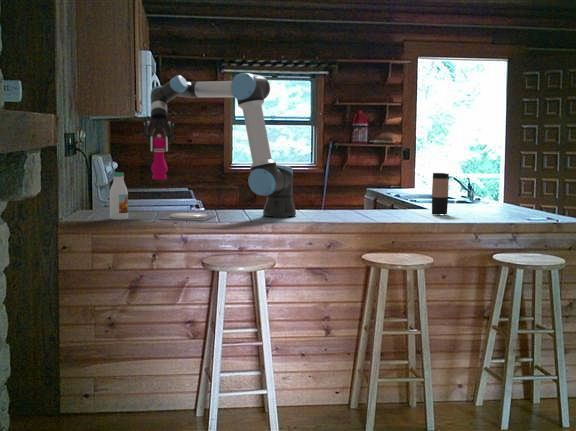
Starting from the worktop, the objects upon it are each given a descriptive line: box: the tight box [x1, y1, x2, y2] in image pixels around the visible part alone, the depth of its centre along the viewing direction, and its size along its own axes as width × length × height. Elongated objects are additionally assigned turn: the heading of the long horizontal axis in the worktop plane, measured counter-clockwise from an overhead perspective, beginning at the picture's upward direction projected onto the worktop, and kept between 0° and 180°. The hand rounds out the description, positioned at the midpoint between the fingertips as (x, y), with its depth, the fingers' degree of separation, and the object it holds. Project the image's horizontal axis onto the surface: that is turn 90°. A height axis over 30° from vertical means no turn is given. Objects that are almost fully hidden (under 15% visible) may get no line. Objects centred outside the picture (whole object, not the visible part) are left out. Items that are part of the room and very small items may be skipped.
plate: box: [169, 212, 208, 219], centre depth 317 cm, size 16×16×1 cm
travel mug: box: [431, 172, 450, 215], centre depth 346 cm, size 8×8×20 cm
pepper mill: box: [150, 133, 168, 180], centre depth 320 cm, size 7×7×20 cm
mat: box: [159, 214, 217, 222], centre depth 317 cm, size 20×20×1 cm
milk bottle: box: [109, 172, 129, 221], centre depth 308 cm, size 8×8×20 cm
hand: (159, 149), depth 317 cm, fingers closed on pepper mill, 6 cm apart
